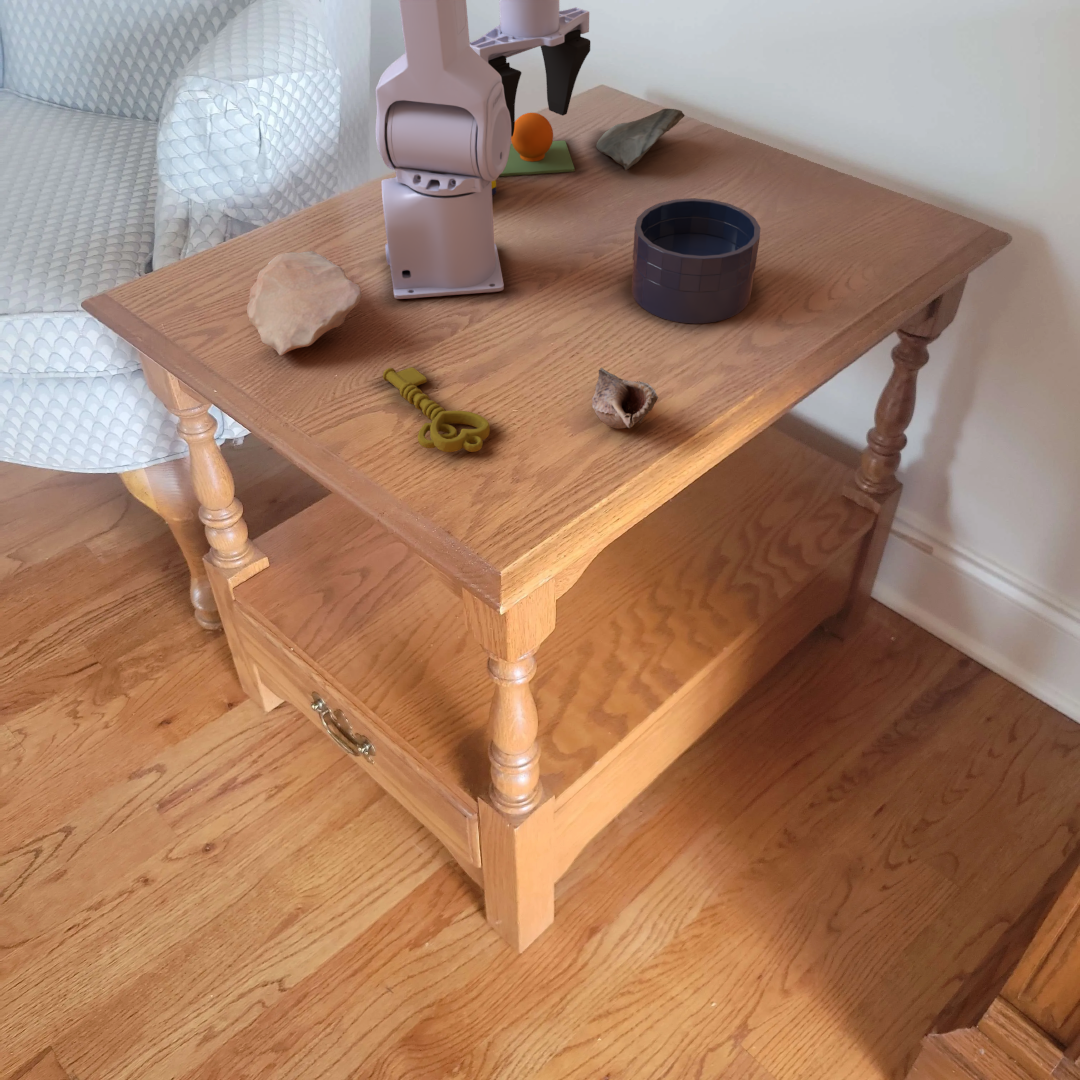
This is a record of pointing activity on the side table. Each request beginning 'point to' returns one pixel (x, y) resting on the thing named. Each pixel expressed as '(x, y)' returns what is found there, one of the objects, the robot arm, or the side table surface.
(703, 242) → the pot
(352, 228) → the side table surface
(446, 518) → the side table surface
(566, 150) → the green flat plate
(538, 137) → the orange
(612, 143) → the stone
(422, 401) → the key
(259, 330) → the stone tool
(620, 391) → the seashell
